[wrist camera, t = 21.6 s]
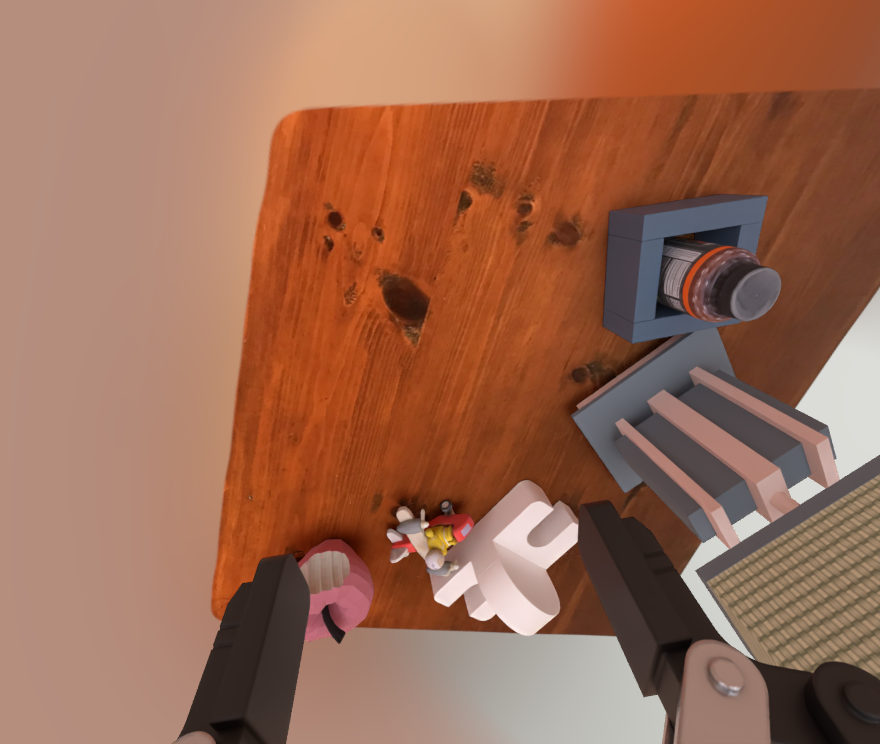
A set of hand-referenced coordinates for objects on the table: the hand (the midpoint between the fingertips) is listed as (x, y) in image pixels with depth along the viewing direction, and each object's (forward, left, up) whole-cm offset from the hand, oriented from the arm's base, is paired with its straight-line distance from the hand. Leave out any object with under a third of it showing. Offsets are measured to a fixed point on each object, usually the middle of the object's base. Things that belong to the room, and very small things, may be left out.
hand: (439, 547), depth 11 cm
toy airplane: (+27, 0, -28) cm, 39 cm away
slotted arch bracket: (+33, +9, -28) cm, 44 cm away
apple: (+28, -11, -28) cm, 41 cm away
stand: (+1, +27, -28) cm, 38 cm away
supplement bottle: (+2, +27, -28) cm, 38 cm away
